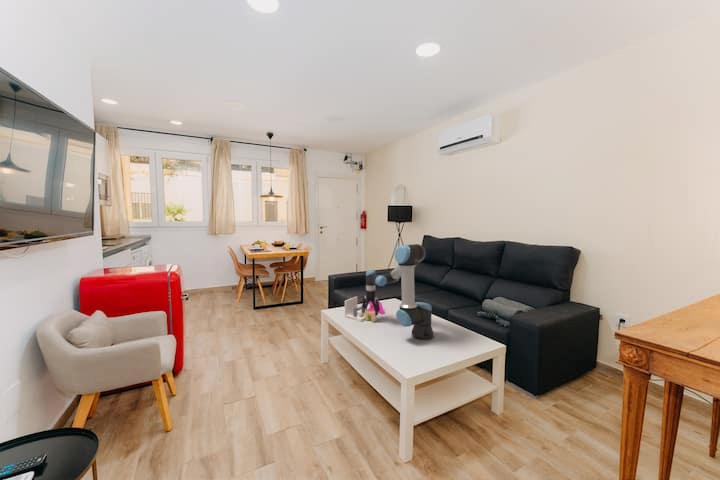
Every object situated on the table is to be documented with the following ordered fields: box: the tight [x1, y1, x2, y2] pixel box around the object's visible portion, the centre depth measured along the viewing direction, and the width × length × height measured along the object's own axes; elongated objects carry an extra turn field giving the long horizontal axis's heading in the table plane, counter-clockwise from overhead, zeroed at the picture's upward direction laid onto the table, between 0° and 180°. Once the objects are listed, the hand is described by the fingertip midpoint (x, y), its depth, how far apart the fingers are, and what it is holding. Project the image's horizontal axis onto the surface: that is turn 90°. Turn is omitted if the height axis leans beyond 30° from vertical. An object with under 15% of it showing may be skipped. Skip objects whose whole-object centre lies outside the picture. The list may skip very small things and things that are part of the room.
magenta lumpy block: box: [367, 301, 385, 315], centre depth 252 cm, size 12×10×10 cm
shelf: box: [344, 296, 372, 323], centre depth 241 cm, size 17×16×14 cm
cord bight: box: [365, 311, 377, 323], centre depth 231 cm, size 8×4×7 cm, turn 53°
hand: (370, 317), depth 231 cm, fingers closed on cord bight, 8 cm apart
